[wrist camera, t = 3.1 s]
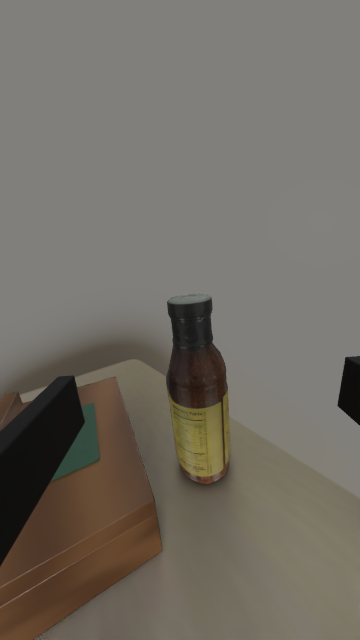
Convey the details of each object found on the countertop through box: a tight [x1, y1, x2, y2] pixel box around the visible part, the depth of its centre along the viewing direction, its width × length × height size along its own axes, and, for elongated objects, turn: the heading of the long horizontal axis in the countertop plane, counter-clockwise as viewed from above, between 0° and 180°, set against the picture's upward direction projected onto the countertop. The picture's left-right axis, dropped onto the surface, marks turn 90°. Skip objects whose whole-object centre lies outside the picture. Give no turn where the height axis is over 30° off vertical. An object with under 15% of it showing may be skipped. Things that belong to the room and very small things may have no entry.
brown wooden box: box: [0, 377, 162, 640], centre depth 22 cm, size 14×20×8 cm
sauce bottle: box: [166, 294, 230, 484], centre depth 21 cm, size 7×6×20 cm
